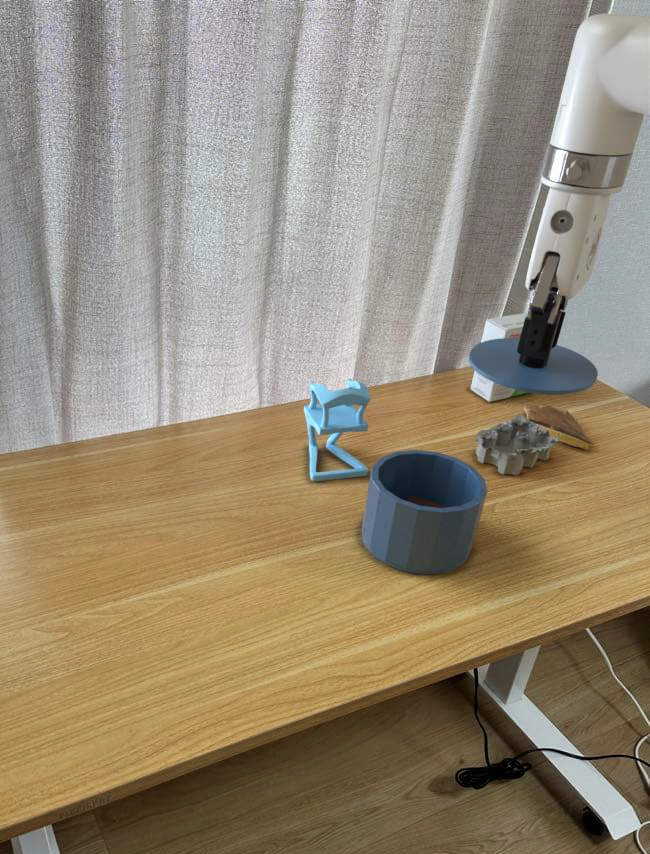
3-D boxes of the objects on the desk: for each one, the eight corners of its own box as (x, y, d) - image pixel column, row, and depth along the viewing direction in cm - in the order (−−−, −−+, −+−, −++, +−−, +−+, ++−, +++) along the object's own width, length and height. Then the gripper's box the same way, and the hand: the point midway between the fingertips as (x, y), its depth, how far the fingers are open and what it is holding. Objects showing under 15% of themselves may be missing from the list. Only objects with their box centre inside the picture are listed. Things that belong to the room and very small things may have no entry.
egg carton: (508, 480, 106) (516, 453, 103) (465, 455, 111) (471, 429, 108) (558, 457, 111) (566, 431, 109) (515, 434, 116) (522, 409, 113)
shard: (590, 453, 113) (594, 442, 111) (536, 451, 112) (539, 440, 111) (564, 416, 121) (568, 405, 120) (514, 414, 121) (517, 403, 120)
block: (438, 534, 95) (445, 506, 92) (426, 551, 92) (433, 523, 89) (406, 523, 96) (412, 495, 94) (393, 539, 93) (399, 511, 91)
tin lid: (606, 366, 91) (626, 305, 87) (579, 412, 82) (600, 346, 78) (488, 337, 97) (502, 278, 93) (450, 378, 87) (463, 314, 83)
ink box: (510, 380, 130) (529, 310, 123) (531, 393, 127) (552, 321, 120) (468, 389, 127) (485, 317, 120) (488, 403, 124) (507, 329, 117)
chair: (345, 444, 112) (356, 363, 104) (368, 476, 105) (381, 392, 98) (292, 449, 110) (300, 367, 103) (312, 482, 103) (321, 397, 96)
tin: (483, 531, 96) (500, 471, 91) (449, 588, 87) (465, 525, 82) (386, 498, 101) (397, 439, 96) (343, 549, 92) (353, 487, 87)
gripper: (608, 191, 70) (552, 386, 81) (641, 160, 81) (587, 334, 92) (522, 178, 73) (479, 367, 84) (565, 149, 84) (522, 319, 95)
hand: (536, 348), depth 88 cm, fingers closed on tin lid, 3 cm apart
